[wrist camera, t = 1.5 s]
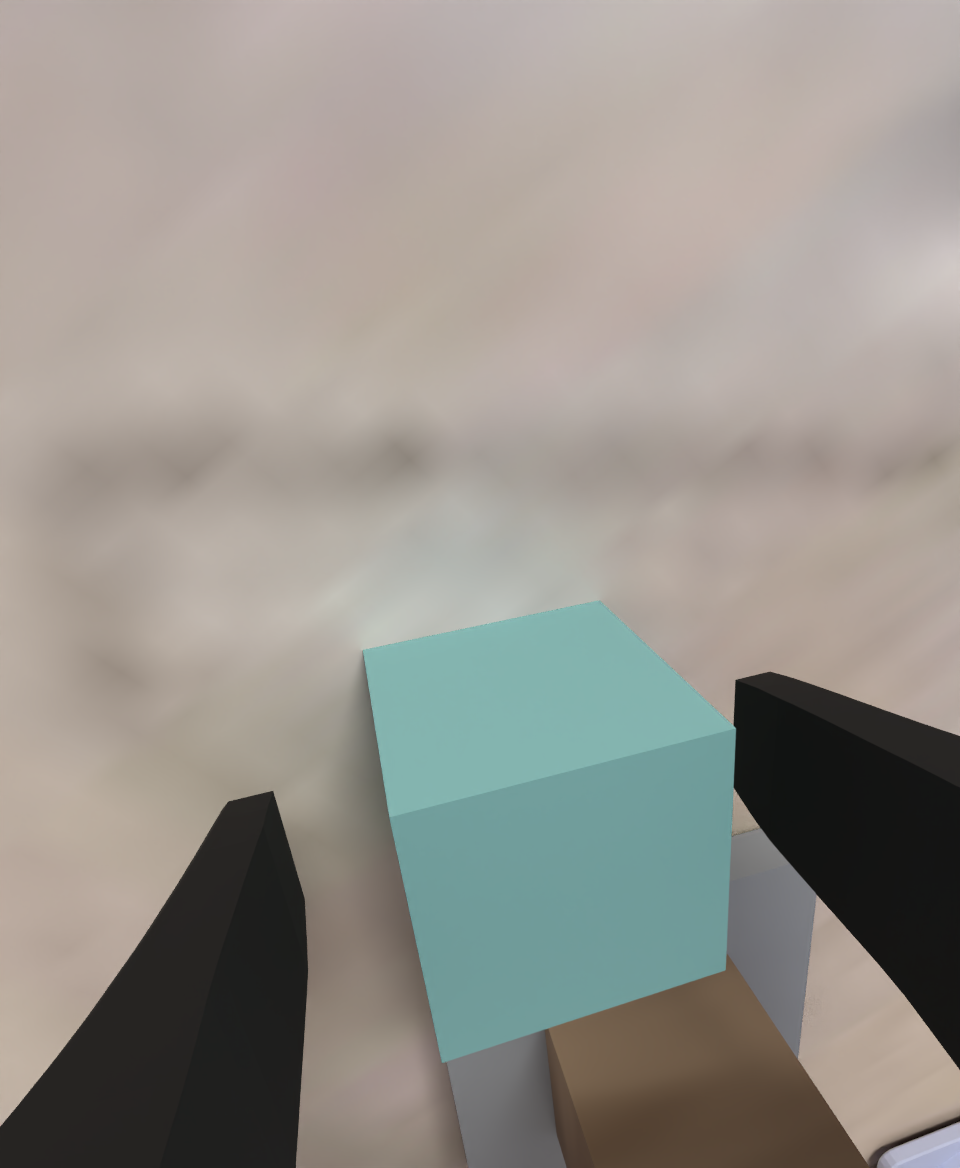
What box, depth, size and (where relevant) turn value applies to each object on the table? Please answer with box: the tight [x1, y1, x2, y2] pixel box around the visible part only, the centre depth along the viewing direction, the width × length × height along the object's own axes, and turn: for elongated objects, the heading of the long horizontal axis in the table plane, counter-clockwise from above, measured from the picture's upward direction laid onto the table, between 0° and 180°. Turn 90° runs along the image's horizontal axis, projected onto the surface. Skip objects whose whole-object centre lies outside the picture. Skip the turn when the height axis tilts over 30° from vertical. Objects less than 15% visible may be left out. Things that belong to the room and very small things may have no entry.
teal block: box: [363, 601, 736, 1063], centre depth 10 cm, size 4×4×4 cm
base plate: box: [447, 828, 816, 1168], centre depth 14 cm, size 8×8×1 cm
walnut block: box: [545, 954, 870, 1168], centre depth 12 cm, size 4×4×4 cm
